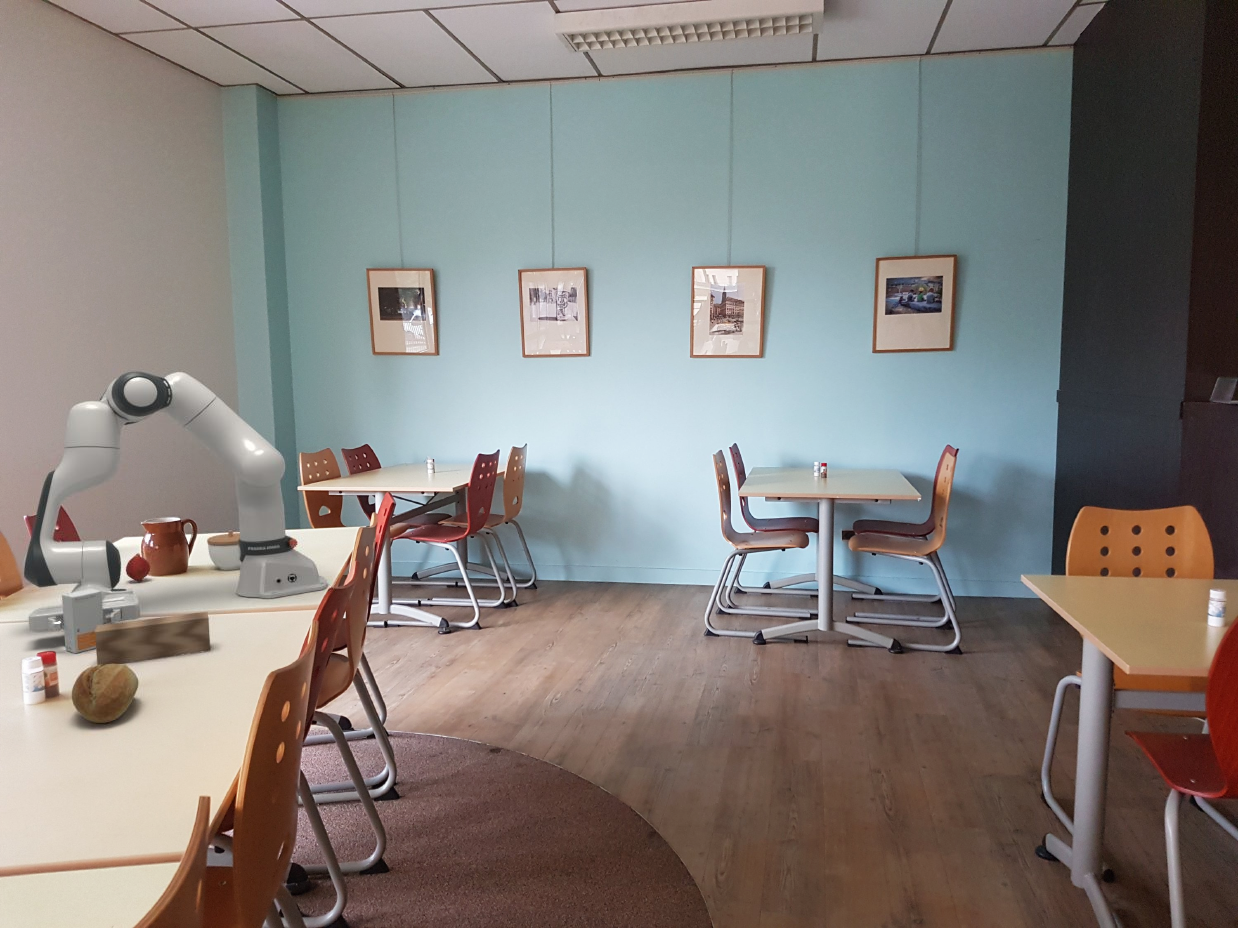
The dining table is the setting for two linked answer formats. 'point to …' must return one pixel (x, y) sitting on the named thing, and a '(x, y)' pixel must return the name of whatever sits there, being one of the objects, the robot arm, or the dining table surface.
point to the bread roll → (104, 692)
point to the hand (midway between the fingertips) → (83, 623)
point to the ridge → (152, 638)
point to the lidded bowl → (225, 550)
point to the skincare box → (81, 619)
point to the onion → (137, 568)
